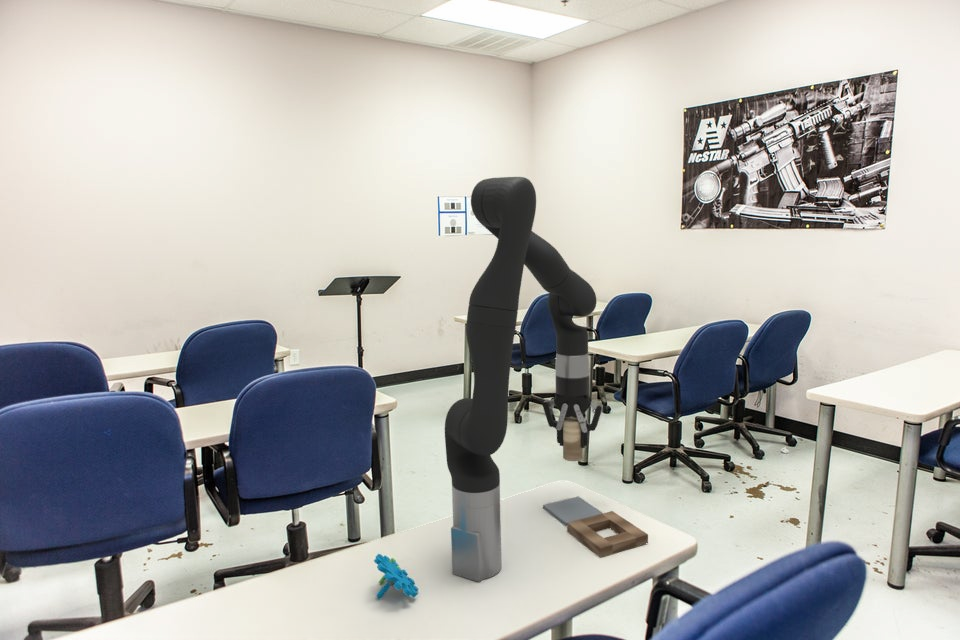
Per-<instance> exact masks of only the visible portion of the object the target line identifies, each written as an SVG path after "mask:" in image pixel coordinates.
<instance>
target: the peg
mask: <svg viewBox="0 0 960 640" xmlns="http://www.w3.org/2000/svg"><path fill="white" fill-rule="evenodd" d="M581 432H582V429H581V426H580V423H579V421H578V418H574V417H566V419H565V420H564V422H563V446H562V459H564V460H565V461H568V462H579V461H582V460H583V458H584V456H583V449H584V448H581Z"/></svg>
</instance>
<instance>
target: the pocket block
mask: <svg viewBox="0 0 960 640" xmlns="http://www.w3.org/2000/svg"><path fill="white" fill-rule="evenodd" d="M602 513H603V514H599V515H595V516H591V517H587V518H583V519H579V520H576V521H572V522H568V523H567V526H566V528H567V530H566V531H567V533H568V534H570V535H571V536H572V537H574V538H575V539H576V540H578V541H579V542H581V544H582V545H584V546H585V547H586V548H588V549H589V550H590V551H591V552H593V553H594V554H595V555H596V556H597V557H598V558H604V557H607V556H612V555H613V554H618V553H620V552H623V551H627V550H631V549H634V548H637V547H640V546H644V544H645V545H647V544H646V543H648V544H649V534H648V533H647V532H645V531H643V530H642V529H640V528H639V527H637V526H636V525H635V524H633V523H632V522H630V521H628V519H627V520H626V519H625V518H623V516H621V515H619V514H618V513H616V512H615V511H613V510H610V511H607V512H602ZM607 528H608V529H610V528H611V529H610V530H611V531H613V530H614V531H613V532H614V533H616V534H613V535H608V536H605V537H603V536H602V535H600V534H599V533H598V532H600V531H603V530H604V531H605V530H607ZM617 533H618V534H617Z"/></svg>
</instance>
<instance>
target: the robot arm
mask: <svg viewBox="0 0 960 640" xmlns="http://www.w3.org/2000/svg"><path fill="white" fill-rule="evenodd" d="M470 206H471V209H472V214H473V215H474V216H475V218H476V221H478V222H479V223H480V224H481V226H483V227H484V228H485V229H486V230H487V231H489V232H490V233H491V234H492V235H493V236H494V237H496V238H497V243H496V248H495V250H494V251H495V252H494V254H493V256H492V258H491V261H489V263H488V265H487V267H486V268H485V270H484V271H483V273H482V274H481V276H480V277H479V278H478V280H477V282H476V283H475V285H474V287H473V288H472V290H471V293H470V295H469V296H470V297H469V301H468V308H467V309H468V310H467V315H466V316H467V317H466V324H465V333H466V335H465V336H466V341H467V347H468V352H469V355H470V359H471V364H472V369H473V379H474V380H473V392H472V397H471V398H470V397H464V398H460V399H458V400H457V401H455V402H454V403H453V404H452V405H451V406H450V408H449V409H448V411H447V413H446V416H445V420H444V421H445V422H444V440H445V441H444V442H445V456H446V465H447V470H448V472H449V475H450V477H451V493H452V494H451V498H452V499H451V500H452V526H451V527H450V535H451V536H450V540H451V542H450V543H451V544H450V545H451V565H452V566H451V568H452V569H451V570H452V571H451V573H452V574H453V575H456V576H460V577H463V578H466V579H468V580H470V581H471V580H472V581H475V582H478V583H479V582H481V581H483V580H484V579H488V578H491V577H493V576H496V575H497V574H498V573H499V572H500V571H501V570H502V567H503V566H502V533H501V532H502V528H501V527H502V526H501V487H500V486H501V477H500V469H499V466H498V465H497V464H496V463H495V461H494V459H493V458H492V455H494V454H495V453H496V452H497V451H498V450H499V449H500V448H501V446H502V445H503V443H504V441H505V437H506V434H507V429H508V421H509V419H508V416H509V409H508V408H509V384H510V375H511V365H512V357H513V347H514V339H515V334H516V327H517V320H518V313H519V302H520V292H521V287H522V280H523V273H524V268H525V267H526V268H527V269H528V270H529V272H530V273H531V275H532V276H533V277H534V279H536V281H537V282H538V284H539V285H540V287H541V288H542V289H543V290H545V292H547V293H548V296H547V306H548V311H549V314H550V319H551V321H552V326H553V328H554V332H555V339H556V342H555V344H556V354H555V355H556V356H555V365H554V366H555V367H554V368H555V396H554V398H552V399H548V398H547V399H545V400H544V401H543V403H542V408H543V411H544V414H545V415H544V416H545V418H546V420H547V421H546V422H547V423H548V424H547V425H548V427H550V428H554V429H555V430H556V442H557V444H559V446H561V447H563V422H564V420H565V419H566V417H574V418H578V421H579V423H580V426H581V429H582V432H581V448H583V449H585V448H586V447H587V446H588V445H589V439H590V438H589V435H590V432H591V431H593V432H594V431H595V430H596V428H597V427H598V425H599V421H600V419H601V415H602V411H603V408H604V404H603V403H601V402H600V403H596V402H593V401H592V398H591V396H590V395H591V394H590V372H591V368H590V359H589V358H590V357H589V332H588V330H587V329H586V328H585V327H583V326H582V325H579V324H577V323H575V322H574V320H573V319H572V317H579V318H580V317H581V318H582V317H583V318H584V317H587V316H589V315H591V314H592V313H593V312H594V311H595V310H596V307H597V296H596V293H595V292H596V291H595V290H594V288H593V287H592V285H591V284H590V283H589V282H588V281H586V280H585V279H584V278H583V277H582V276H580V275H579V274H578V273H577V272H575V271H574V270H572V269H571V268H570V266H569V265H568V264H567V261H565V258H563V256H562V254H561V253H560V252H559V250H557V248H556V247H554V246H553V244H551V243H549V242H548V241H547V240H546V239H544V238H543V237H541V236H539V234H538V233H535V232H534V231H533V226H534V221H535V215H536V210H537V209H536V208H537V193H536V189H535V186H534V184H533V182H532V181H531V180H530V179H528V178H527V177H525V176H502V177H501V176H499V177H491V178H485V179H482V180H480V181H479V182H477V183H476V184H475V186H474V187H473V189H472V192H471V195H470ZM524 266H525V267H524ZM554 406H556V409H558V411H559V416H558V418H557V419H558V420H556V416H555V413H554V410H553V409H554ZM589 408H591V412H592V413H593V416H592V421H591V423H589V422H588V416H587V413H586V412H587V411H588V410H589Z"/></svg>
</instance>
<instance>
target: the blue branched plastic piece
mask: <svg viewBox="0 0 960 640" xmlns="http://www.w3.org/2000/svg"><path fill="white" fill-rule="evenodd" d="M373 562H374V563H375V564H376V565H377V566H376V568H377V570H378V571H379V572H381V573H384V575H382V577H381V578H380V580H378V583H379V585H382V584H384V582H385V581H386V582H385V584H384V585H383V586H382V587H381V589H380V590H379V591H378V592H377V593H376V594H375V596H376V597H377V599H379V600H381V599H382V598H383V597H384V595H385V594H386V593H387V591H388V590H389V589H390V588H391V587H394V588H395V589H396V590H397V591H400V590H401V589H403V591H402V592H403V594H404V595H405V596H407V597H412V598H416V596H417V595H418V594H419V592H418V591H419V588H418V587H417V586H416V585H415V584H416V582H415V580H414V579H412V578H410V577H409V576H408V575H409V573H408V572H407V571H406V570H405V569H402V568H401V567H400V566H399V564H398V562H397V561H396V559H395V558H394V557H391V558H390V557H389V556H387V555H382V554H381V553H378V554H377V555H376V556H375V559H374V560H373ZM381 583H382V584H381ZM380 598H381V599H380Z"/></svg>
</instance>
